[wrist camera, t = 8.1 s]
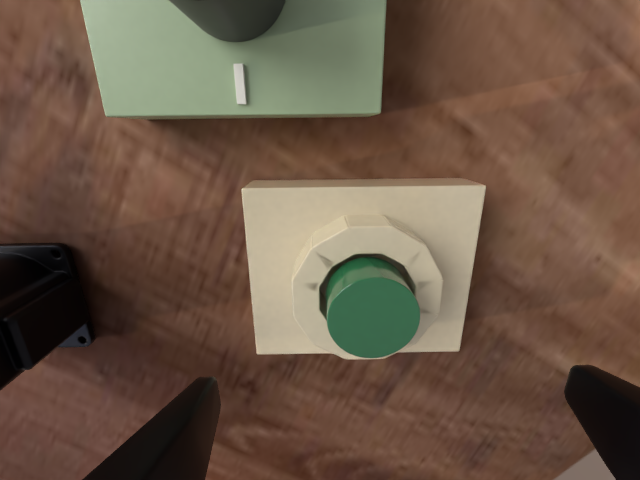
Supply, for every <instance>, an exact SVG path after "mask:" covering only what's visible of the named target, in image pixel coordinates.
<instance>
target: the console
mask: <svg viewBox="0 0 640 480" xmlns="http://www.w3.org/2000/svg"><path fill="white" fill-rule="evenodd" d="M386 1H387V0H285V4H284V6H283V9H282V11H281V13H280V15H279V17H278V18H277V20H276V21H275V23H274V24H273V25H272V26H271V27H270V28H269V29H268V30H267V31H266V32H265V33H263V34H262V35H260V36H258V37H257V38H254V39H252V40H249V41H244V42H228V41H223V40H220V39H217V38H215V37H213V36H211V35H209V34H208V33H206V32H205V31H203V30H202V29H201V28H200V27H199V26H197V25H196V24H195V23H194V22H193V21H192V20H191V19H189V18H188V17H187V16H186V15H185V14H184V13H183V12H182V11H180V10H179V9H178V8H177V7H176V6H175V5H174V4H173V3H171V2H170V1H169V0H80V2H81V6H82V11H83V15H84V20H85V25H86V29H87V34H88V38H89V43H90V47H91V52H92V57H93V61H94V66H95V70H96V75H97V79H98V84H99V88H100V93H101V98H102V102H103V107H104V111H105V115H106V116H107V117H117V118H132V119H224V118H313V117H370V116H373V115H377V114H380V113H381V102H382V82H383V62H384V41H385V21H386Z"/></svg>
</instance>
